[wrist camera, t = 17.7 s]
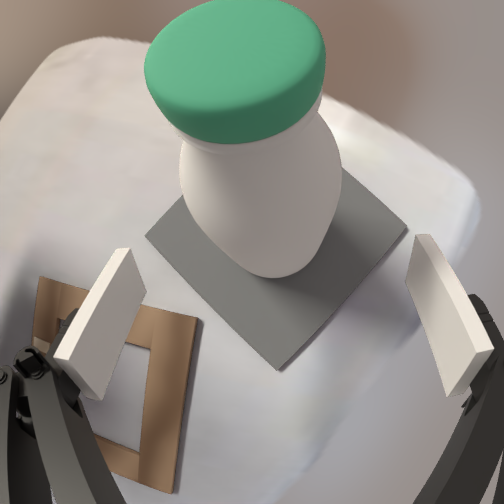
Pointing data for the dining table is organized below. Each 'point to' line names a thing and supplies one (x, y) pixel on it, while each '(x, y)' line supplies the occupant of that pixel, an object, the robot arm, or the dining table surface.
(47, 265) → the dining table surface
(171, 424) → the wooden frame
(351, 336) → the dining table surface
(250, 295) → the rubber mat
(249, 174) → the milk bottle
